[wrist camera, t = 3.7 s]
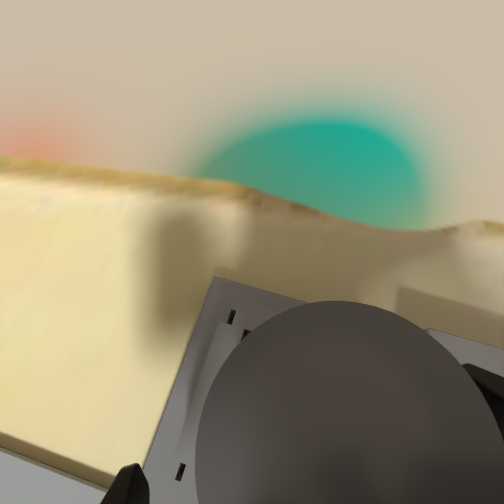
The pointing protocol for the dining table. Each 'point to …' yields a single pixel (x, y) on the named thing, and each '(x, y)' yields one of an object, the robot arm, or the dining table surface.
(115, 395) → the dining table surface
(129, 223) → the dining table surface
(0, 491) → the mat
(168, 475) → the socket block
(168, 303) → the dining table surface
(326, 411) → the plug
